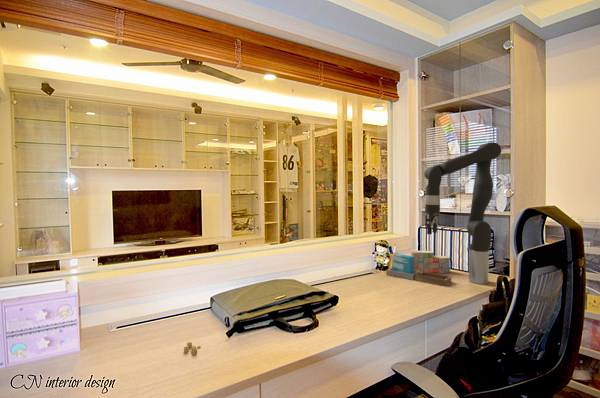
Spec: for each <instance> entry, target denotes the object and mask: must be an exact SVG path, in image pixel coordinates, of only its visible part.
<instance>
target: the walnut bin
mask: <svg viewBox="0 0 600 398" xmlns="http://www.w3.org/2000/svg"><path fill="white" fill-rule="evenodd" d="M414 281H416V282H420V283H426V284H431V285H437V286H443V287H446V286H448V285H450V284H451V283H452V276H449V275H445V274H440V273H427V272H420V273H418V274H416V275H415V279H414Z"/></svg>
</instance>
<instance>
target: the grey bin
mask: <svg viewBox="0 0 600 398" xmlns="http://www.w3.org/2000/svg"><path fill="white" fill-rule="evenodd" d="M385 272H386V273H385V274H386V276H389V277H395V278H400V279H405V280H411V281H415V275H416V274H418V273H420V271H416V270H414V273H413V274H409V273H403V272H397V271H392V267H390V268H388V269H386V271H385Z"/></svg>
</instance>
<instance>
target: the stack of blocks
mask: <svg viewBox="0 0 600 398" xmlns="http://www.w3.org/2000/svg"><path fill="white" fill-rule="evenodd" d="M410 256H413V257H414V270H416V271H420V272H427V273H433V274H450V273H451V258H450V257H449V256H447V255H435V252H433V251H432V250H410Z"/></svg>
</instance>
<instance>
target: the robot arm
mask: <svg viewBox="0 0 600 398" xmlns="http://www.w3.org/2000/svg"><path fill="white" fill-rule="evenodd" d="M501 153H502V147H501V145H500V144H499V143H497V142H493V141H490V142H486V143H484V144H483V143H482V144H481V145H480V146H478V148H477V149H476V150H474V151H472V152H470V153H467V154H463V155H461V156H458V157H457V156H456V157H454V158H452V159H449V160H446V161H444V162H442V163H439V164H436V165H433V166H429V167H428V168H426V169H425V171H424V173H423V175H424V178H425V179H426V180H427V184H426V186H425V198H424V212H425V213H427V214H425V223H424V224H425V225H424V226H425V227H426V233H427V235H432V234H437V233H438V225H439V224H440V214H439V213H441V195H440V194H441V193H440V189H441V183H442V178H443V176H446V175H450V174H453V173H456V172H458V171H461V170H464V169H466V168H468V167H470V166H473V165H475V164H476V165H475V175H474V181H473V182H474V183H473V189H472V199H471V206H470V212H469V216H468V221H467V225H466V230H467V233H468V234H469V235H470V236H472V243H470V244H469V249H468V251H469V255H468V281H469V282H470V283H473V284H477V285H488V284H489V269H490V268H489V260H490V256H489V255H490V254H489V253H490V248H491V244H492V227H491V225H490V224H489V223H488V222H486V221H484V219H485V212H486V210H487V207H488V206H489V204H490V203H491V200H492V197H493V194H494V193H493V192H494V181H493V177H492V173H491V165H492V160H495V159H497V158H498V157H500V156H501Z"/></svg>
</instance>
